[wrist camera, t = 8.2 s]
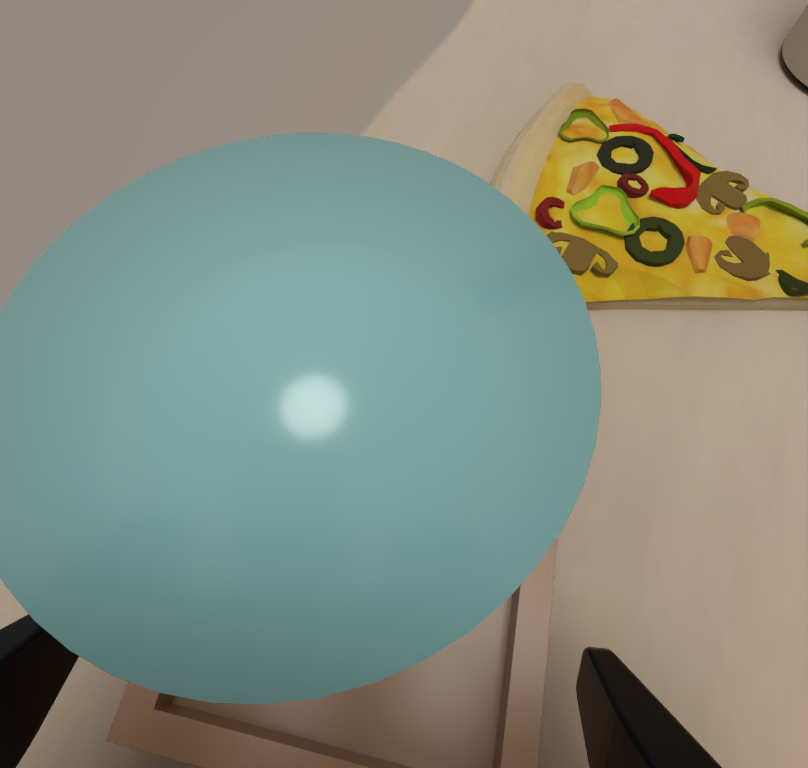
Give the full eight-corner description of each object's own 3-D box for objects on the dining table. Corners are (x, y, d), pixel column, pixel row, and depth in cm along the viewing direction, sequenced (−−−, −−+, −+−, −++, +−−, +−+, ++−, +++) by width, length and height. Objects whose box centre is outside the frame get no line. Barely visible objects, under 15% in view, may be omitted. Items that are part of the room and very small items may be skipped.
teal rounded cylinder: (476, 622, 16) (710, 619, 4) (294, 657, 16) (-119, 784, 3) (440, 449, 19) (509, 108, 6) (281, 476, 19) (19, 165, 6)
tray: (515, 830, 15) (530, 859, 13) (140, 726, 16) (105, 741, 14) (555, 403, 21) (569, 382, 19) (278, 350, 22) (266, 326, 20)
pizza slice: (535, 100, 30) (547, 48, 27) (918, 202, 26) (978, 153, 23) (438, 301, 24) (441, 260, 21) (919, 470, 20) (999, 446, 17)
